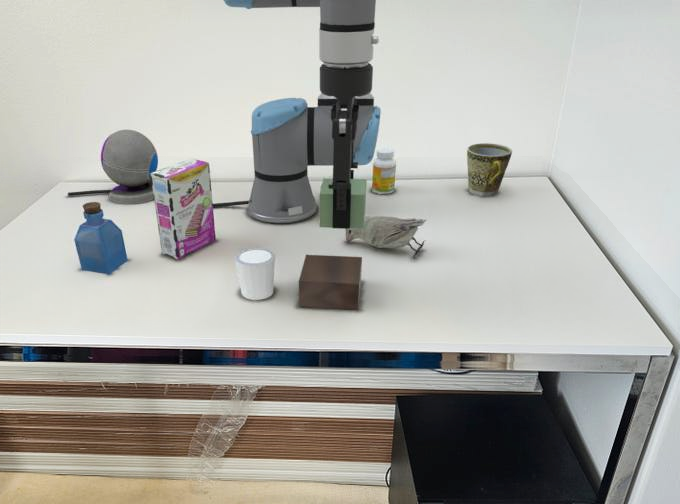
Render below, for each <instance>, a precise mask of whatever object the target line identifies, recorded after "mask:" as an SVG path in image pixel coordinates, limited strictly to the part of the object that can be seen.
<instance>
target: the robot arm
mask: <svg viewBox="0 0 680 504" xmlns="http://www.w3.org/2000/svg"><path fill="white" fill-rule="evenodd" d="M223 2H224V3H225V5H226V6H228V7H229V8H245V9H247V10H251V9H273V8H319V15H320V22H319V29H318V30H319V31H318V53H319V54H318V58H319V61H321V62H322V64H321V65H320V66H319V92H320V94H319V95H318V97H317V106H308V104H309V103H307V100H306V99H304V98H302V97H298V98H297V97H285V98H279V99H275V100H270V101H267V102H264V103H261V104H259V105H258V106H256V107H255V108H254V110H253V111H252V113H251V129H250V135H251V140H252V154H253V171H254V179H253V184H252V187H251V191H250V195H249V196H250V197H249V199H248V200H239V201H237V200H236V201H229V202H216V203H213V208H219V207H222V208H223V207H232V206H233V207H234V206H245V205H248V214H249V216H250V217H252V218H253V219H255V220H257V221H260V222H263V223H267V224H268V223H269V224H291V223H297V222H302V221H304V220H307V219H309V218H311V217H313V216H314V215H315V213H316V212H317V202H316V198H315V196H314V193H313V189H312V185H311V183H310V180H309V176H308V172H309V171H308V166H309V167H311V166H313V167H314V166H317V167H319V166H320V167H321V166H322V167H323V166H327V167H329V166H330V167H332V179H333V183H332V185H330V184H329V186H328V187H329V189H333V228H332V229H342V230H343V229H344V230H346V229H350V210H351V183H350V179H355V178H354V173H355V169H358V167H359V166H366V165H368V164H370V163H371V162H372V160H373V158H374V156H375V150H376V148H377V147H376V146H377V141H378V136H379V130H380V123H381V113H382V111H381V110H382V109H381V108H380V106H378V105H375V96H374V95H373V94H372V93H371V92H372V90H373V77H374V75H373V73H374V67H373V65H372V64H371V63H370V62H371V61H372V60H373V59H374V45H378V44H379V42H380V40H379V37H378V36H377V35H374V34H375V26H376V25H375V24H376V22H375V20H376V19H375V18H376V3H377V0H223ZM342 180H343V181H342ZM111 190H112V189H95V190H83V191H82V190H81V191H71V192H70V191H69V192H67V196H68V197H72V196H73V197H74V196H84V195H97V194H110V192H111Z"/></svg>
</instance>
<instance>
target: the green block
mask: <svg viewBox="0 0 680 504" xmlns="http://www.w3.org/2000/svg"><path fill="white" fill-rule="evenodd" d="M342 181H343V180H342ZM332 183H333V178H326V177H325V178H324V177H323V179H322V182H321V186H320V190H319V193H318V196H319V197H318V200H319V201H318V204H319V205H318V207H319V209H318V210H319V211H318V213H319V216H318V218H319V219H318V220H319V221H318V222H319V223H318V224H319V226H318V227H319V228H332V229H334V228H333V189H329V187H328V186H329V184H330V185H332ZM350 183H351V210H350V228H362V229H363V228H364V220H365V216H366V201H367V183H368V181H367V178H353V179H350Z"/></svg>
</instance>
